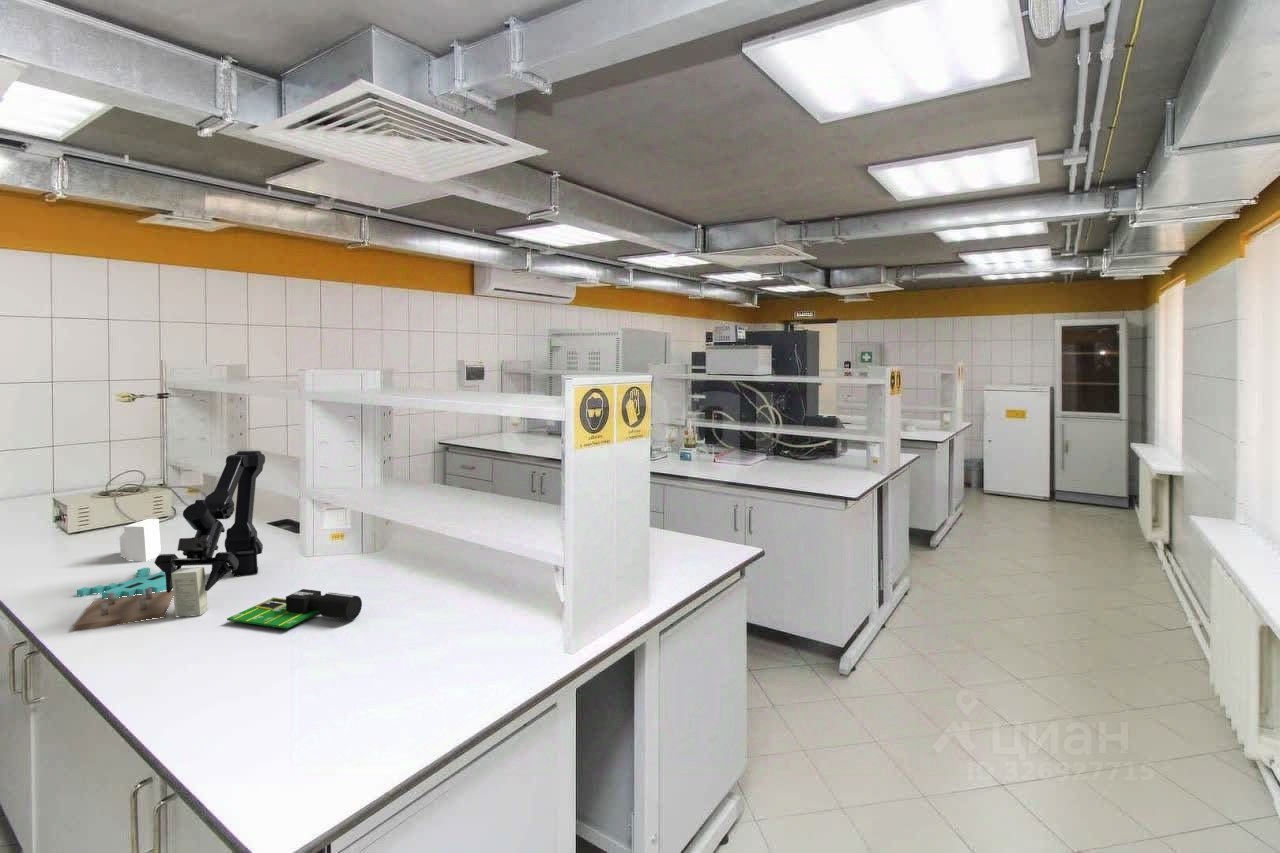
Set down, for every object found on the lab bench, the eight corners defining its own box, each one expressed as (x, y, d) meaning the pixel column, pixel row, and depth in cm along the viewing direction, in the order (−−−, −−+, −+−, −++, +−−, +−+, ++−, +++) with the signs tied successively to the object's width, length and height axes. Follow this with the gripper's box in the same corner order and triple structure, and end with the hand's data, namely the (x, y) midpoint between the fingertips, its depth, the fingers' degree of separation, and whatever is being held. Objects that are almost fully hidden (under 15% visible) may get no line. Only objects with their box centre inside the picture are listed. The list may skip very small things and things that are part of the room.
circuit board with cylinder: (225, 599, 162) (272, 579, 177) (227, 624, 163) (274, 603, 177) (323, 612, 155) (364, 590, 169) (324, 638, 156) (365, 615, 170)
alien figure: (77, 597, 181) (134, 603, 177) (76, 589, 180) (133, 595, 176) (144, 574, 200) (197, 579, 196) (144, 567, 200) (197, 572, 196)
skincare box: (208, 609, 172) (206, 566, 171) (200, 616, 168) (197, 571, 166) (182, 611, 171) (179, 567, 170) (173, 617, 167) (170, 572, 165)
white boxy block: (146, 561, 211) (143, 526, 210) (112, 561, 211) (110, 526, 210) (170, 552, 222) (168, 518, 220) (138, 551, 222) (135, 518, 220)
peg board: (174, 595, 182) (173, 580, 181) (163, 617, 166) (162, 601, 166) (93, 606, 173) (92, 590, 173) (74, 631, 158) (73, 613, 157)
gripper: (156, 525, 169) (132, 579, 160) (231, 523, 172) (213, 576, 162) (174, 545, 178) (153, 597, 168) (246, 543, 181) (229, 594, 171)
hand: (187, 591), depth 167 cm, fingers open, 9 cm apart
